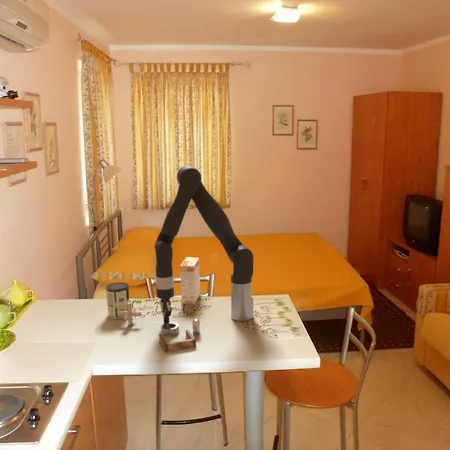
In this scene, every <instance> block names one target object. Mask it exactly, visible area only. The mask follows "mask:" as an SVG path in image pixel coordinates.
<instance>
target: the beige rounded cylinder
mask: <svg viewBox="0 0 450 450" xmlns="http://www.w3.org/2000/svg"><path fill="white" fill-rule="evenodd" d="M191 325H192V335H193V336H198V335H200V334H201V331H200V330H201V326H200V318H193V319H192V324H191Z"/></svg>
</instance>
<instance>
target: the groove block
mask: <svg viewBox="0 0 450 450" xmlns="http://www.w3.org/2000/svg"><path fill="white" fill-rule="evenodd" d="M185 337H186V339H182V340H178V341H172V342H167V340H166V338H165V337H164V335H163V334H162V333H159V334H158V338H159V339H158V341H159V344H160V345H161V347H162V349H163V350H164V352H165V353H169V352H175V351H178V350H179V351H180V350H186V349H191V348H196V347H197V340H196V339H197V338H195V335H194V334H193V333H191V331H190V330H189V329H185Z"/></svg>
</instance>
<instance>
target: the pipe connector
mask: <svg viewBox="0 0 450 450" xmlns="http://www.w3.org/2000/svg"><path fill="white" fill-rule="evenodd" d="M127 308H128V311H119V312H118V314H119V315H125V316H124V318H123V320H124V321H128V325H129V326H132V325H133V317H142V312H141V311H137V308H136V307H132V302H131V301H129V302H128V303H127Z"/></svg>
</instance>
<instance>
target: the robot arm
mask: <svg viewBox="0 0 450 450" xmlns="http://www.w3.org/2000/svg"><path fill="white" fill-rule="evenodd" d="M176 180H177V182H178V184H179V185H178V189H177V193H176V196H175V198H174V200H173V202H172V204H171V206H170V207H169V209H168V211H167V214H166V215H165V218H164V221H163V222H162V223H163V224H162V226H161V229H160V232H159V233H158V235H157V237H156V240H155V241H154V242H155V243H154V252H155V261H156V264H155V290H156V291H155V292H156V293H155V294H156V297H157V298H158V299H159V303H160V308H161V313H162V317H163V324H164V323H169V322H170V317H171V315H172V311H173V308H172V306H171V305H172V301H171V300H170V299H171V298H173V297H174V296H175V286H174V285H175V282H174V280H175V279H174V273H173V271H174V270H173V254H174V253H173V246H172V245H173V242H174V240H175V238H176V237H177V236H178V233H179V231H180V228H181V227H182V224H183V220H184V217H185V214H186V212H187V210H188V207H189V206H190V203H191V201H193V203H194V206H195V207H196V209H197V210H198V212H199V214H200V216H201V218H202V220H203V221H204V223H205V224H206V225H207V227H208V229H210V231H211V233H212V234H213V235H214V236H215V238H217V240H218V241H219V242H220V244H221V245H222V246H223V249H224V251H225V254H226V255H227V256H228V258H229V260H230V261H231V263H232V267H233V268H232V274H231V275H230V306H231V307H230V310H231V311H230V314H231V315H230V317H231V319H232V320H233V321H237V322H246V321H249V320H251V319H254V297H253V296H252V293H253V292H252V289H253V287H252V283H253V282H252V281H253V280H252V278H253V277H254V254H253V252H252V250H251V249H249V248H248V247H247V246H245V245H244V244H243V243H242V242H241V240H240V239H239V238H238V237H237V235H236V233H235V232H234V230H233V227H232V224H231V221H230V219H229V218H228V215H227V214H226V212H225V211H224V210H223V209H224V208H222V207H221V205H220V203H218V202H217V200H216V199H215V198H214V197H213V195H211V193H209V191H208V190H207V189H206V188H205V185H204V184H203V182H202V175H201V172H200V171H199V170H198V169H197V168H196V167H193V166H191V165H183V166H181V167H180V168H179V169H178V171H177V173H176Z"/></svg>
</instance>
